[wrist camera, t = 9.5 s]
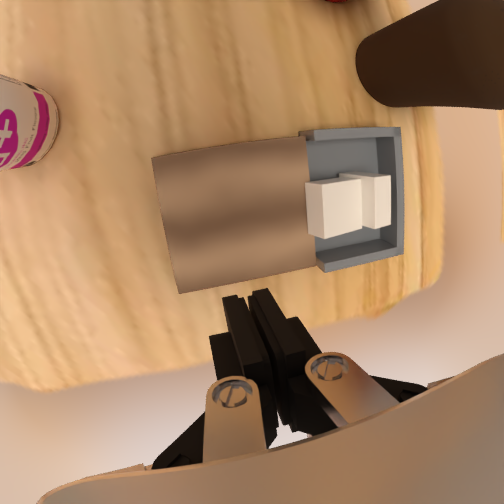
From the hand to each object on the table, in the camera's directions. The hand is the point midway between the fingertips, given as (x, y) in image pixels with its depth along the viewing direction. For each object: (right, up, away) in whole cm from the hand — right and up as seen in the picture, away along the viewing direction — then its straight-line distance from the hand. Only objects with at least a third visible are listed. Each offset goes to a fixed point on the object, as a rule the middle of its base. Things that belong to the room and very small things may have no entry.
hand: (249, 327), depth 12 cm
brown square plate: (-2, +7, +21) cm, 22 cm away
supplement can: (-23, +15, +13) cm, 31 cm away
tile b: (+11, +8, +19) cm, 23 cm away
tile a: (+8, +7, +20) cm, 22 cm away
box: (+11, +9, +23) cm, 27 cm away
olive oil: (+16, +24, +19) cm, 35 cm away
